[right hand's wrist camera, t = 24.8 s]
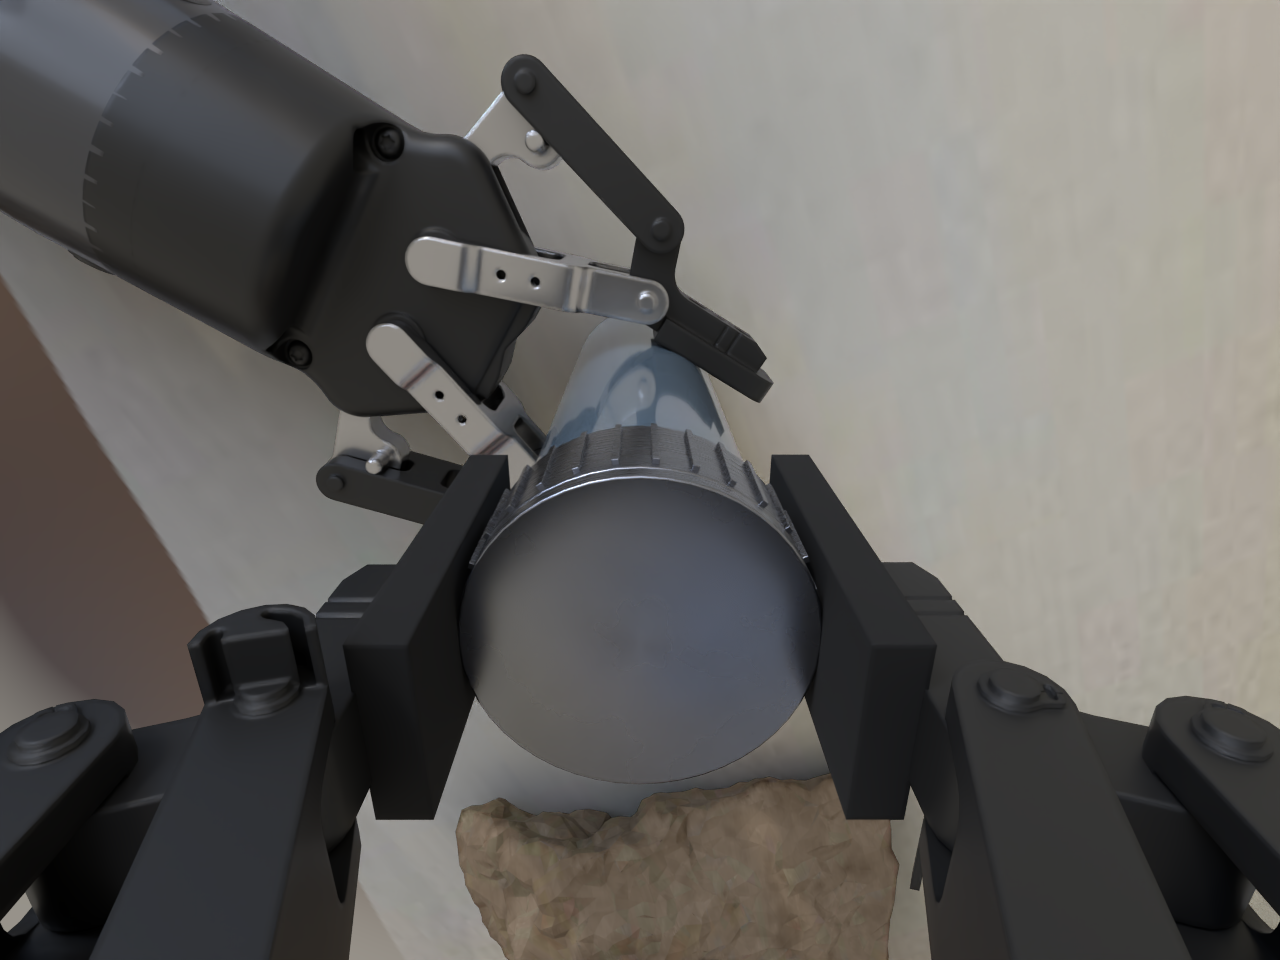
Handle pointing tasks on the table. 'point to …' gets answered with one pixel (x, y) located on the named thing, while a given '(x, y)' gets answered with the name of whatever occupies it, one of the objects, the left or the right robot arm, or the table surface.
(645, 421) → the blue-grey bottle
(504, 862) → the stone
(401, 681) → the right robot arm
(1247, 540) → the table surface
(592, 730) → the lid
